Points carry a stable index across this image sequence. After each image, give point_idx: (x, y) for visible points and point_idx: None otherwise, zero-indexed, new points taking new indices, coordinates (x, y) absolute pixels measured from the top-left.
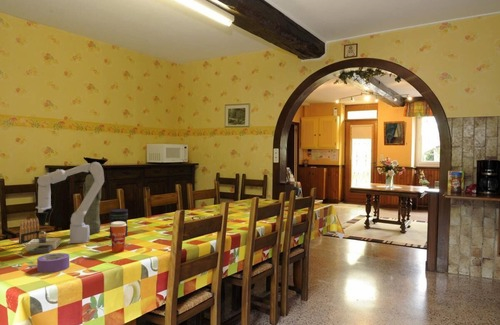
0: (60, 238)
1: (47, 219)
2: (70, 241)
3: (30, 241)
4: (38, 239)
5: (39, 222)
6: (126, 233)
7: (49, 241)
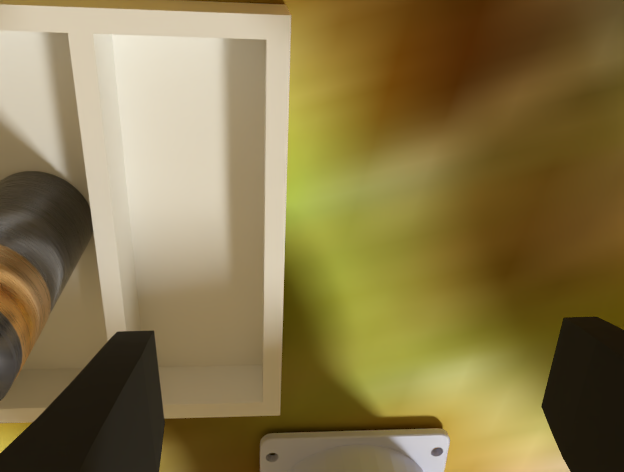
0: (276, 411)
1: (598, 462)
2: (310, 456)
3: (94, 25)
4: (266, 123)
5: (66, 400)
6: None
7: (107, 320)
